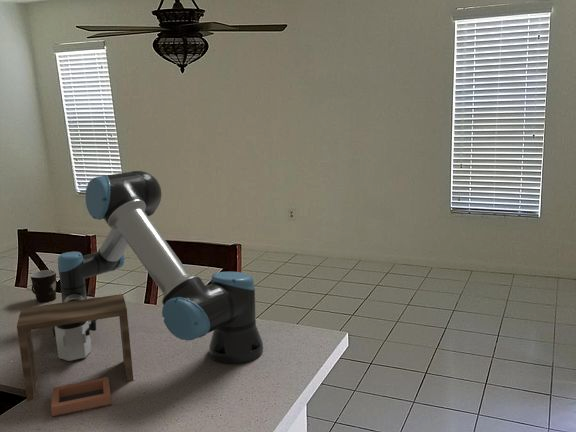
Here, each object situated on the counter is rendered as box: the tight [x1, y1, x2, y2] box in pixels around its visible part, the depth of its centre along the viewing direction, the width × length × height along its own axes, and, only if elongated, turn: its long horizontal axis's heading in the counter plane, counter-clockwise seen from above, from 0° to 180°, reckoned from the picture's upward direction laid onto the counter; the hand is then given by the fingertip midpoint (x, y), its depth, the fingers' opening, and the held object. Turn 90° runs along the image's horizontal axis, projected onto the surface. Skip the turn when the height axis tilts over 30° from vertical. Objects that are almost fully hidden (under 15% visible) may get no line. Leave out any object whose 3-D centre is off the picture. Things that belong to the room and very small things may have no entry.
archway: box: [16, 293, 134, 402], centre depth 140 cm, size 12×25×20 cm, turn 111°
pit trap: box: [50, 376, 112, 418], centre depth 132 cm, size 10×13×2 cm
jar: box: [55, 321, 92, 362], centre depth 154 cm, size 9×8×12 cm
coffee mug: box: [29, 269, 57, 304], centre depth 198 cm, size 12×9×10 cm
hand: (74, 339), depth 149 cm, fingers closed on jar, 4 cm apart
